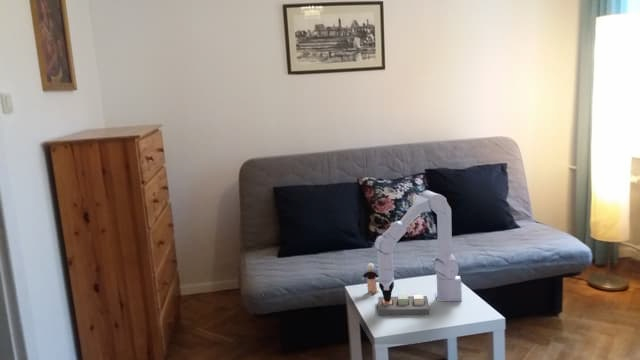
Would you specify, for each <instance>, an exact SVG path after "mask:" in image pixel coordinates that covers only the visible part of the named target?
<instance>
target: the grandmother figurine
mask: <svg viewBox="0 0 640 360" xmlns="http://www.w3.org/2000/svg"><path fill="white" fill-rule="evenodd" d="M366 270H367V272H364V273H363V275H362V277H361V280H362V281H365V279H366V278H367V279H366V280H367V281H366V282H367V283H366V286H367V293H368V294H375V295H376V294H378V293H379V290H378V286H377V281H376V278H378V277H379V274H378V273H377V272H375V271H374V270H375V264H374V263H370V262H369V263H368V264H367V265H366Z"/></svg>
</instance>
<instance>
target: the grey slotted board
mask: <svg viewBox="0 0 640 360" xmlns="http://www.w3.org/2000/svg"><path fill="white" fill-rule="evenodd" d="M407 296H408V305H398V296H391V300H392V305H383V300H384V297H383V296H378V298H377V299H378V304H377V309H378V310H377V312H378V317H391V316H392V317H393V316H394V317H395V316H397V317H399V316H430V315H431V310H430V305H429V299H428V295H423V297H424V305H414V295H413V296H411V295H410V296H409V295H407Z"/></svg>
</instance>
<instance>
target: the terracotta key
mask: <svg viewBox="0 0 640 360" xmlns="http://www.w3.org/2000/svg"><path fill="white" fill-rule="evenodd" d="M383 305H392V300H390V302H385V301H384V300H383Z"/></svg>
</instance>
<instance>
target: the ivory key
mask: <svg viewBox="0 0 640 360" xmlns="http://www.w3.org/2000/svg"><path fill="white" fill-rule="evenodd" d="M413 296H414V305H424V297H423V296H424V294H413Z"/></svg>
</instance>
